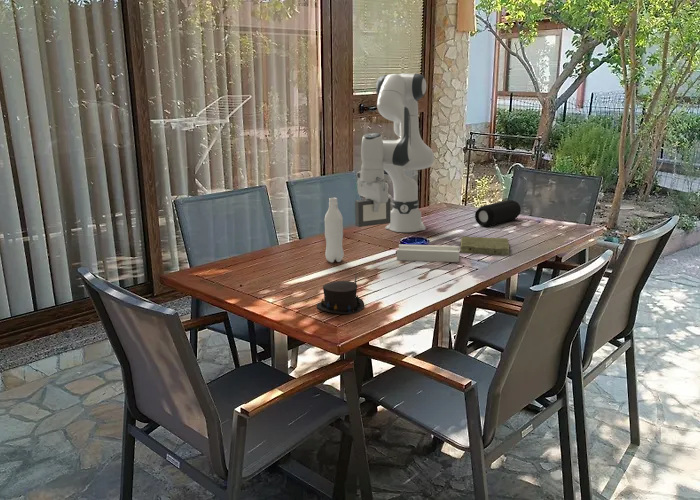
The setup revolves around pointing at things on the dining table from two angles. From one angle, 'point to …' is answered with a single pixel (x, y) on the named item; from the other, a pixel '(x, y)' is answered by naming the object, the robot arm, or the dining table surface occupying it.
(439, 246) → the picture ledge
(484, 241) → the decorative tile
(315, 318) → the dining table surface
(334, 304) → the top hat
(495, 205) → the portable speaker
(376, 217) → the picture frame
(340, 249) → the water bottle
